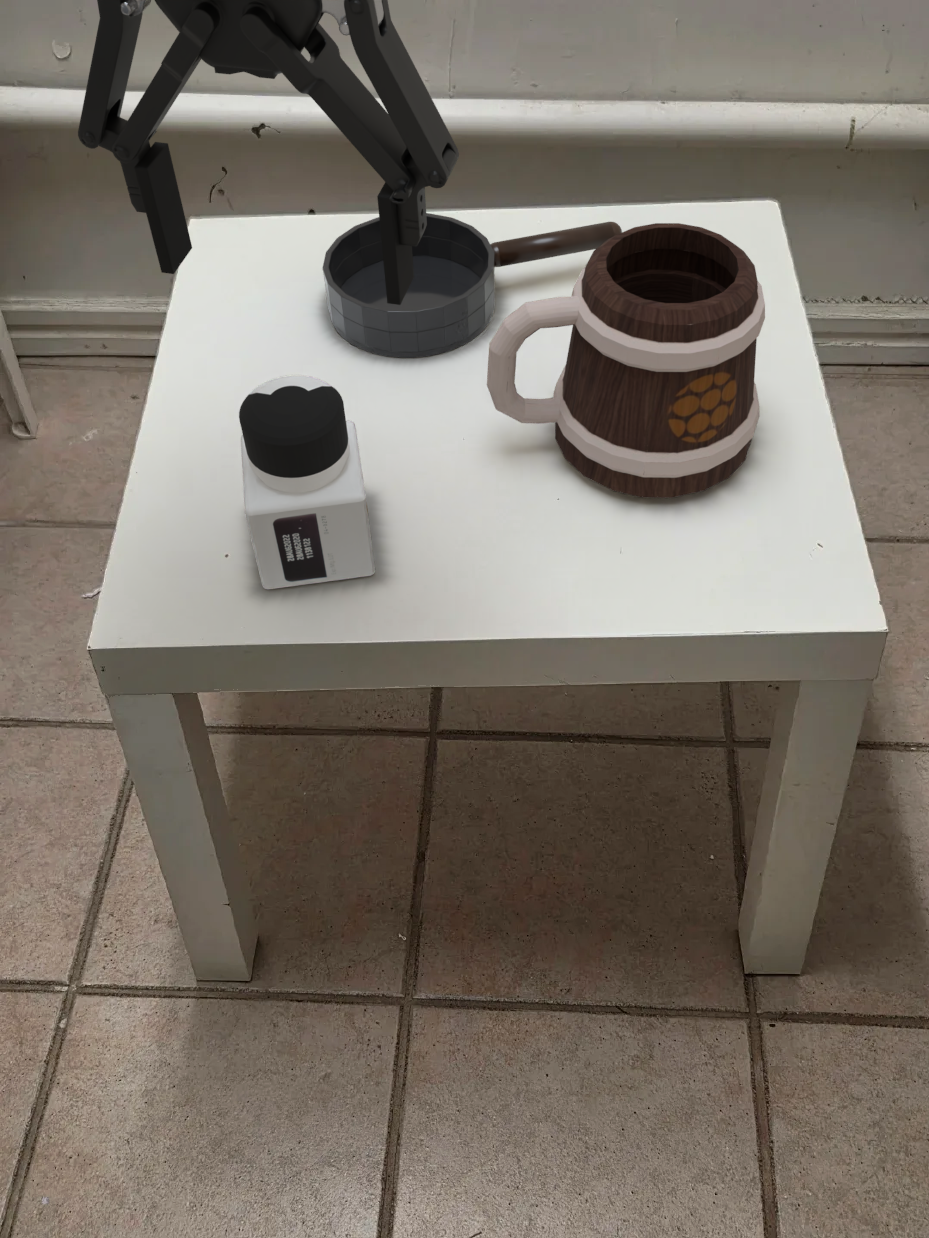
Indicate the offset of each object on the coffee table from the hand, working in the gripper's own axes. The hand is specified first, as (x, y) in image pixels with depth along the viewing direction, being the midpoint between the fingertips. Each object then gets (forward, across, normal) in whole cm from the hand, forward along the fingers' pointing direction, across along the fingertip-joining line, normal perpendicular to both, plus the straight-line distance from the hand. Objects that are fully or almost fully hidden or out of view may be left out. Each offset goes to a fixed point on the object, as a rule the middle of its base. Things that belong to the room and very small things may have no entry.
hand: (287, 275), depth 68 cm
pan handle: (+19, -9, -33) cm, 39 cm away
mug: (+21, -18, -14) cm, 31 cm away
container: (+21, +1, +1) cm, 21 cm away
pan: (+21, +2, -27) cm, 34 cm away
